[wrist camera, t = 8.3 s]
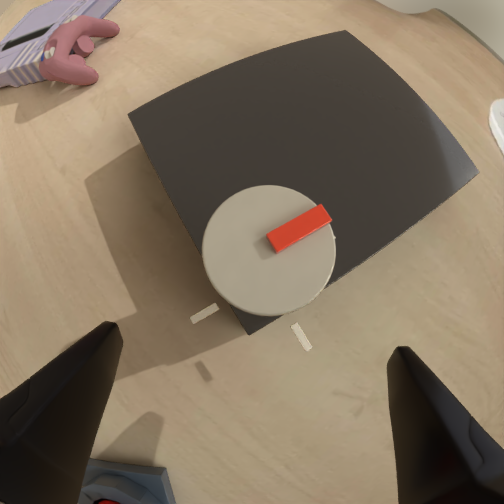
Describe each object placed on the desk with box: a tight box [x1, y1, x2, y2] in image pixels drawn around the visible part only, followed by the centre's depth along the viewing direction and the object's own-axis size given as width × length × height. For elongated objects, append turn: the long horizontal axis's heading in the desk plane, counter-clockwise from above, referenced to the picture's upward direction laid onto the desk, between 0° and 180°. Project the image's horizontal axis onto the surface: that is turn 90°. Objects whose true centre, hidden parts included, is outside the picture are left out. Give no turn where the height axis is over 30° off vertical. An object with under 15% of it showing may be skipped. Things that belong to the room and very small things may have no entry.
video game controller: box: [39, 15, 120, 85], centre depth 20 cm, size 10×5×7 cm, turn 2°
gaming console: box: [0, 0, 120, 88], centre depth 24 cm, size 18×4×20 cm
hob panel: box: [128, 30, 479, 352], centre depth 17 cm, size 20×17×4 cm
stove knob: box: [202, 185, 336, 317], centre depth 11 cm, size 4×4×6 cm
